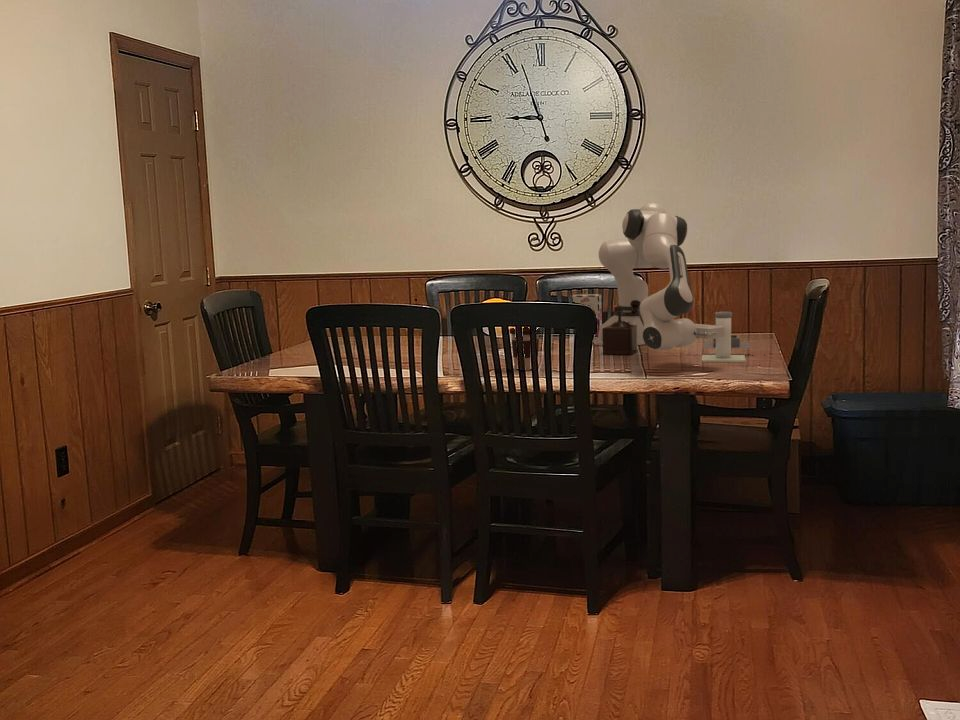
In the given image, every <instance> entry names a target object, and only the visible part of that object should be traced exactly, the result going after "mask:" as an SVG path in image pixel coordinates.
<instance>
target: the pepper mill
mask: <svg viewBox="0 0 960 720" xmlns="http://www.w3.org/2000/svg"><path fill="white" fill-rule="evenodd" d="M640 303H641V302H640V301H638V300H633V301H631V303H630V305H631V307H632V311H631V313H625V312H621V307H620V306H618V305H617V306H618V307H617V309H618V310H617V312H618V321H617V322H614V323H612V324H611V325H609V326H607V327H605V328H603V329H602V331H603V345H602V355H605V356H606V355H609V356H610V355H611V356H612V355H613V356H615V355H616V356H632V355H634V354H636V353H637V352H638V345H637V325H630V324H629V322H630V321H629V322H628V323H627V322H625V321H621V314H622V315H631V314H636V313H639V310H638V309H639V306H640Z"/></svg>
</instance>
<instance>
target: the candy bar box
mask: <svg viewBox="0 0 960 720" xmlns="http://www.w3.org/2000/svg"><path fill="white" fill-rule="evenodd" d="M572 302H575V303H581V304H585V305H589V306H591V307H592V308H593V310H594V311H595V314H596V318H597V333H596V336H595V337H598V333H599V329H600V327H601V325H603V318H602V317H603V313H602V308H603V307H602V294H601V293H600V294H597V293H596V294H593V293H592V294H589V293H588V294H573V295H572V296H571V303H572Z"/></svg>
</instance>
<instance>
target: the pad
mask: <svg viewBox="0 0 960 720" xmlns="http://www.w3.org/2000/svg"><path fill="white" fill-rule="evenodd" d="M701 363H746V355H745V353H731V357H730V358H716V353H702V355H701Z"/></svg>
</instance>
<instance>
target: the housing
mask: <svg viewBox="0 0 960 720" xmlns="http://www.w3.org/2000/svg"><path fill="white" fill-rule="evenodd" d="M712 340H713V341H704V342H703V348H702V349H716V338H715V339H712ZM740 340H741V337H740V334H731V350H733V349H735V350H736V349H737V350H738V349H739V350H740V349H742V350H743V349H751V345H750V342H749V341H740Z"/></svg>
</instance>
